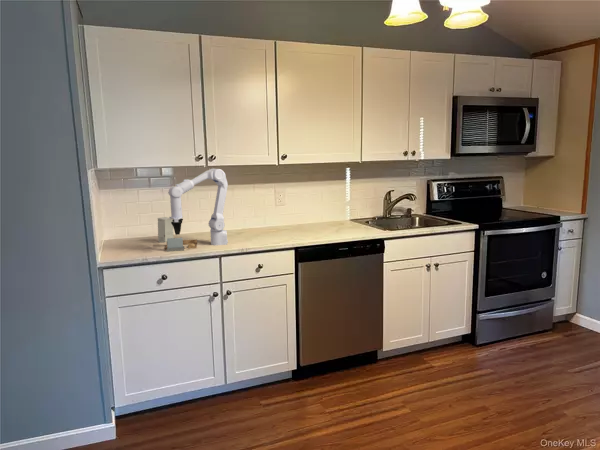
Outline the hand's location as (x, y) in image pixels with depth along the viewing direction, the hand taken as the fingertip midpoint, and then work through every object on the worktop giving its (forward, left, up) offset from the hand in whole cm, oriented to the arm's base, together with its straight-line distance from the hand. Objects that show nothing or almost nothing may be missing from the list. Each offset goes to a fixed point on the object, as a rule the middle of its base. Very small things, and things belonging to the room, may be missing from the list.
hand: (178, 233), depth 247 cm
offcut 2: (-7, -3, -10) cm, 13 cm away
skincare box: (+9, -26, -10) cm, 29 cm away
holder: (+2, +3, -10) cm, 10 cm away
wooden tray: (-1, -6, -10) cm, 12 cm away
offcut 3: (-6, -8, -10) cm, 15 cm away
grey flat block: (+2, +3, -9) cm, 10 cm away
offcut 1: (-6, -4, -9) cm, 11 cm away
